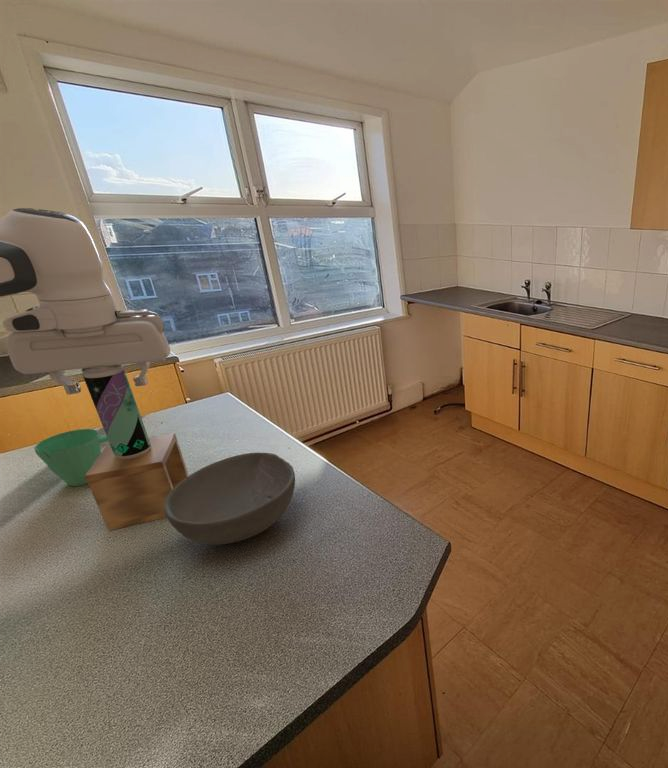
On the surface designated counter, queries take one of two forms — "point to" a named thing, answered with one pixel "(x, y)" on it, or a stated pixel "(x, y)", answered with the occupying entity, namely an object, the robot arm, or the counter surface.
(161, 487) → the wooden box
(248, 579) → the counter surface
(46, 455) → the mug
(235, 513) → the bowl
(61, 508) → the counter surface
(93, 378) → the spray can
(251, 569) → the counter surface
